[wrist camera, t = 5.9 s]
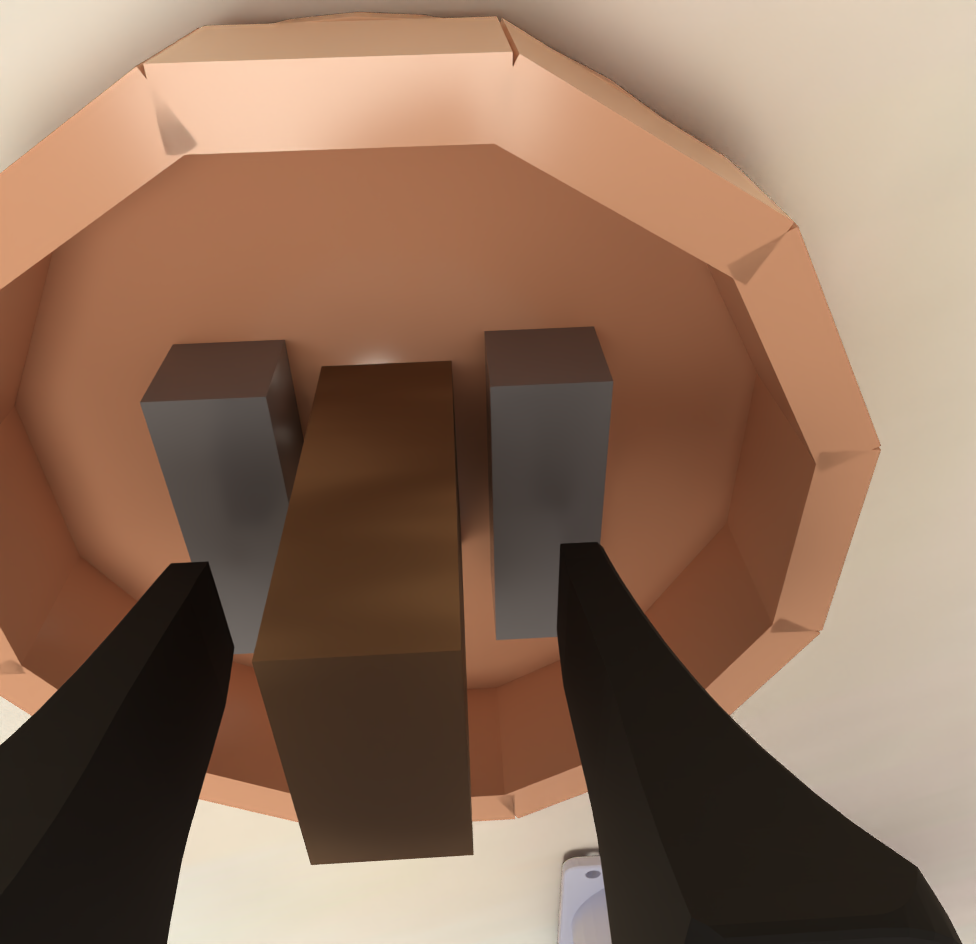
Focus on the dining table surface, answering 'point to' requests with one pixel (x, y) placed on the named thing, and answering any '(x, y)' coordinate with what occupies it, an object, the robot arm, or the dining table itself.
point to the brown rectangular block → (372, 622)
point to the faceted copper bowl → (415, 338)
